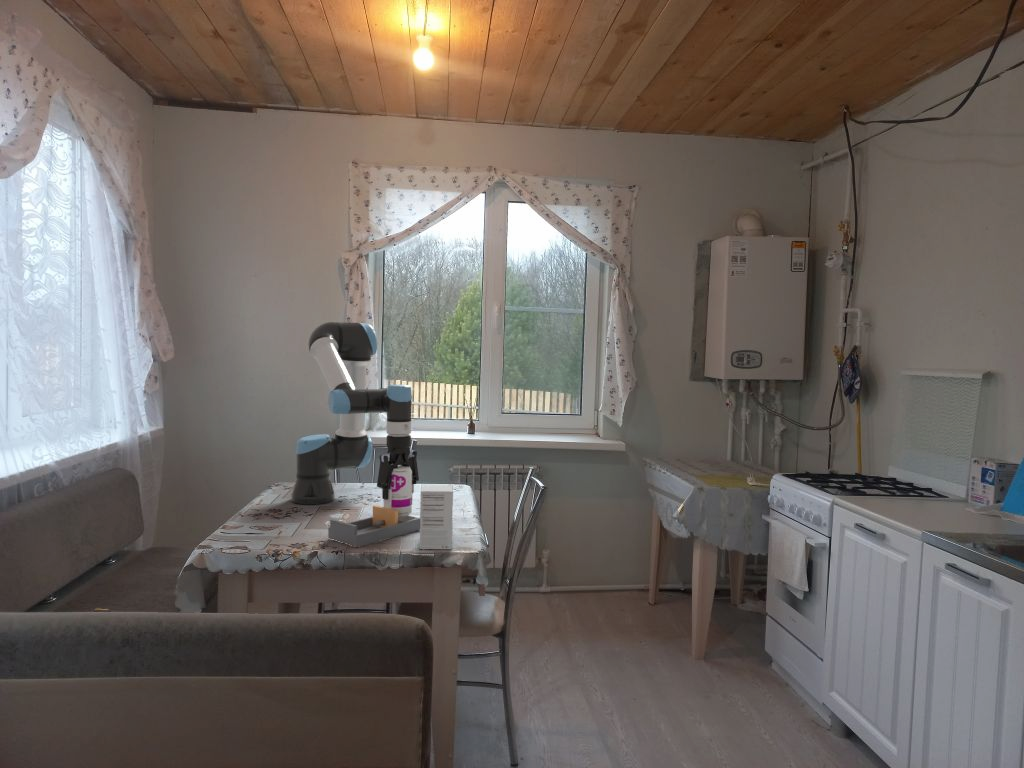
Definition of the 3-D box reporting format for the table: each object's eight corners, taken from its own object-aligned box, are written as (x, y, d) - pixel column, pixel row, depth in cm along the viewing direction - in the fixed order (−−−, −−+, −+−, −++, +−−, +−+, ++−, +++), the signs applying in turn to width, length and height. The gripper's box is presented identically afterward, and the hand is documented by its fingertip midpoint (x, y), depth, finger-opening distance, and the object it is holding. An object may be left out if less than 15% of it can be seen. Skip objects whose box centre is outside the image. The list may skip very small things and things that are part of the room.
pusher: (364, 526, 209) (365, 507, 208) (375, 524, 212) (375, 505, 212) (387, 533, 203) (387, 513, 202) (397, 530, 206) (398, 510, 206)
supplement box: (420, 540, 201) (421, 483, 200) (452, 540, 202) (453, 483, 200) (419, 550, 191) (420, 490, 190) (452, 550, 192) (453, 490, 191)
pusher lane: (328, 539, 199) (328, 519, 199) (394, 521, 220) (394, 503, 220) (356, 547, 192) (356, 526, 191) (421, 528, 212) (422, 510, 212)
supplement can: (406, 518, 208) (406, 469, 207) (380, 516, 209) (381, 468, 208) (415, 511, 216) (415, 465, 215) (390, 510, 217) (390, 463, 216)
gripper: (381, 439, 200) (380, 515, 202) (431, 432, 217) (430, 502, 219) (364, 436, 205) (364, 511, 206) (414, 430, 222) (413, 499, 223)
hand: (398, 506), depth 212 cm, fingers closed on supplement can, 8 cm apart
